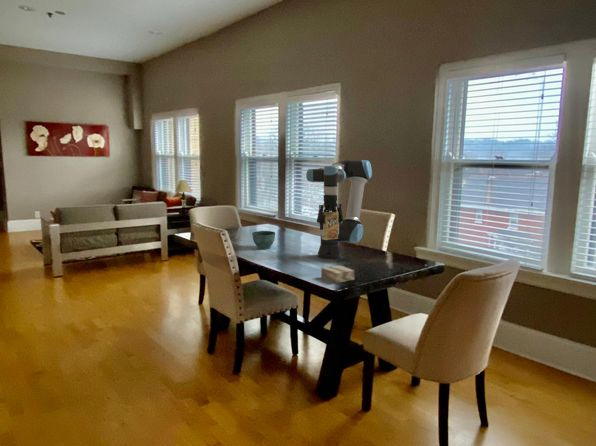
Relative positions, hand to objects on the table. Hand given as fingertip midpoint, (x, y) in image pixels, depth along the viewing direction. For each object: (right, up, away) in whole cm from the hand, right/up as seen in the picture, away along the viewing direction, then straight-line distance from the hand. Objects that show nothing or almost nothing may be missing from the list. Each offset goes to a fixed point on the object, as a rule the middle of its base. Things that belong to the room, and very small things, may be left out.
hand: (329, 234), depth 242 cm
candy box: (0, -3, 0) cm, 3 cm away
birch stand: (+3, -23, -12) cm, 26 cm away
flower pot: (-42, -11, +63) cm, 76 cm away
